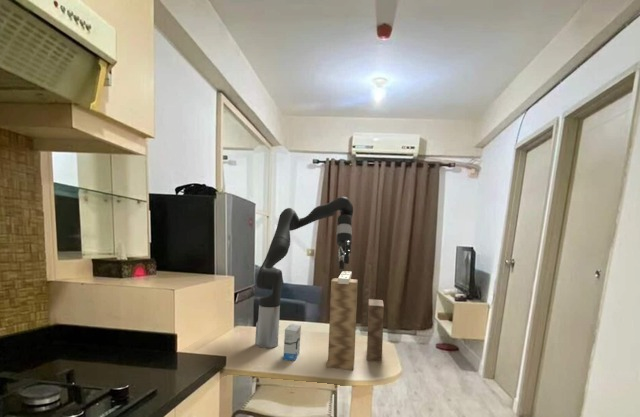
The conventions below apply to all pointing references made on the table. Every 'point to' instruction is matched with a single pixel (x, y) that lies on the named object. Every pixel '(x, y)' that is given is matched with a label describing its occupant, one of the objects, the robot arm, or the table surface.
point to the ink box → (292, 342)
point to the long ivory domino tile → (344, 277)
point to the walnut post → (375, 330)
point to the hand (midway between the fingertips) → (343, 266)
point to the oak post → (342, 324)
